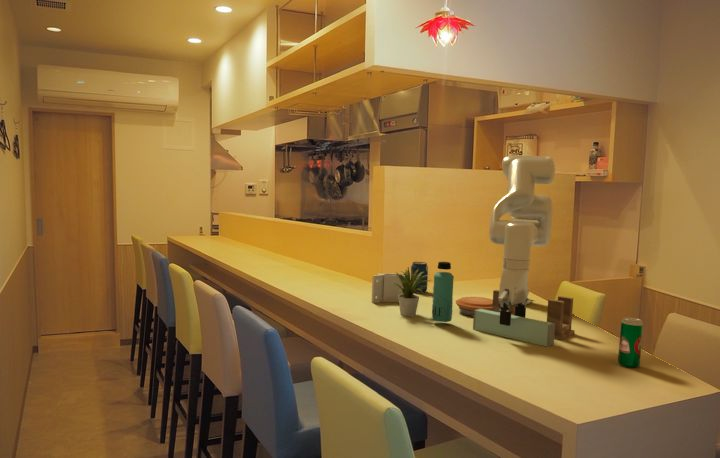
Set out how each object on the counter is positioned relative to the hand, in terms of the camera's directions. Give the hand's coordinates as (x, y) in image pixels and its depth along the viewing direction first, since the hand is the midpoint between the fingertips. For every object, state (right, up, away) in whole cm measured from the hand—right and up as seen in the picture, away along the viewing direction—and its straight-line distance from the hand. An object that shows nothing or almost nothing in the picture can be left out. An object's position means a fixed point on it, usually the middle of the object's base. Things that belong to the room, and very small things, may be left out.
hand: (512, 322), depth 163 cm
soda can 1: (-21, +2, +63) cm, 66 cm away
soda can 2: (+23, -7, -22) cm, 33 cm away
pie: (-4, -2, +29) cm, 30 cm away
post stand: (+8, -4, +10) cm, 14 cm away
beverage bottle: (-19, -3, +12) cm, 23 cm away
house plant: (-29, -2, +22) cm, 37 cm away
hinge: (-35, 0, +43) cm, 55 cm away
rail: (0, -4, +1) cm, 4 cm away
